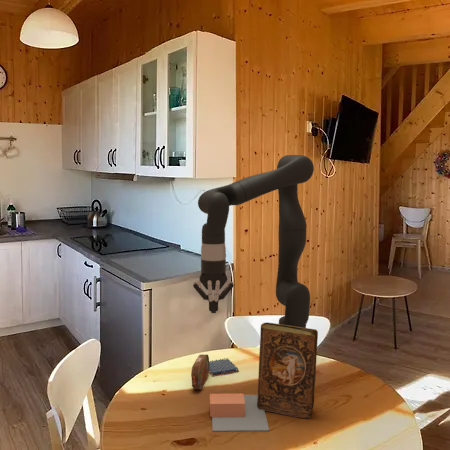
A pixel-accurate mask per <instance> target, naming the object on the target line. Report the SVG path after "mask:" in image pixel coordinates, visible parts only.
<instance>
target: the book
mask: <svg viewBox="0 0 450 450" xmlns="http://www.w3.org/2000/svg"><path fill="white" fill-rule="evenodd" d="M259 333H260V337H259V338H260V339H259V357H258V358H259V360H258V379H257V381H258V382H257V395H258V397H257V408H258V409H261V410H264V411H265V412H272V413H276V414H282V415H286V416H290V417H296V418H302V419H310V418H311V415H312V410H313V408H314V405H315V388H316V372H317V358H318V356H317V354H318V338H319V337H318V336H319V331H318V330H317V329H314V328H307V327H306V328H302V327H296V326H289V325H282V324H279V323H275V322H263V323H262V324H260V332H259Z"/></svg>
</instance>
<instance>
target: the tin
mask: <svg viewBox="0 0 450 450" xmlns="http://www.w3.org/2000/svg"><path fill="white" fill-rule="evenodd" d="M209 362H210V357H209V354H208V353H207V354H199V355H198V356H197V358H196V359H195V361H194V362H193V365H192V368H191V370H190V371H191V373H190V376H191V387H192V389H194V390H202V389H203V388H204V386H205V384H206V382H207V380H208V378H209V374H210V373H209Z"/></svg>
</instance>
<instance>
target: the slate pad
mask: <svg viewBox="0 0 450 450" xmlns="http://www.w3.org/2000/svg"><path fill="white" fill-rule="evenodd" d="M257 397H258V394H244V400H245V417H211V422H212V423H211V424H212V425H211V426H212V432H270V428H269V424H268V420H267V416H266V410H261V409H258V408H257Z"/></svg>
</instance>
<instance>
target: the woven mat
mask: <svg viewBox="0 0 450 450" xmlns="http://www.w3.org/2000/svg"><path fill="white" fill-rule="evenodd" d="M239 372H240V371H239V368H238V366H236V364H234V363H233V361H231V360H230V359H229V358H225V357H224V358H223V359H221V358H220V359H215V360H213V359H212V360H209V374H210V376H211V377H218V376H225V375H228V374H236V373H239Z"/></svg>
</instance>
